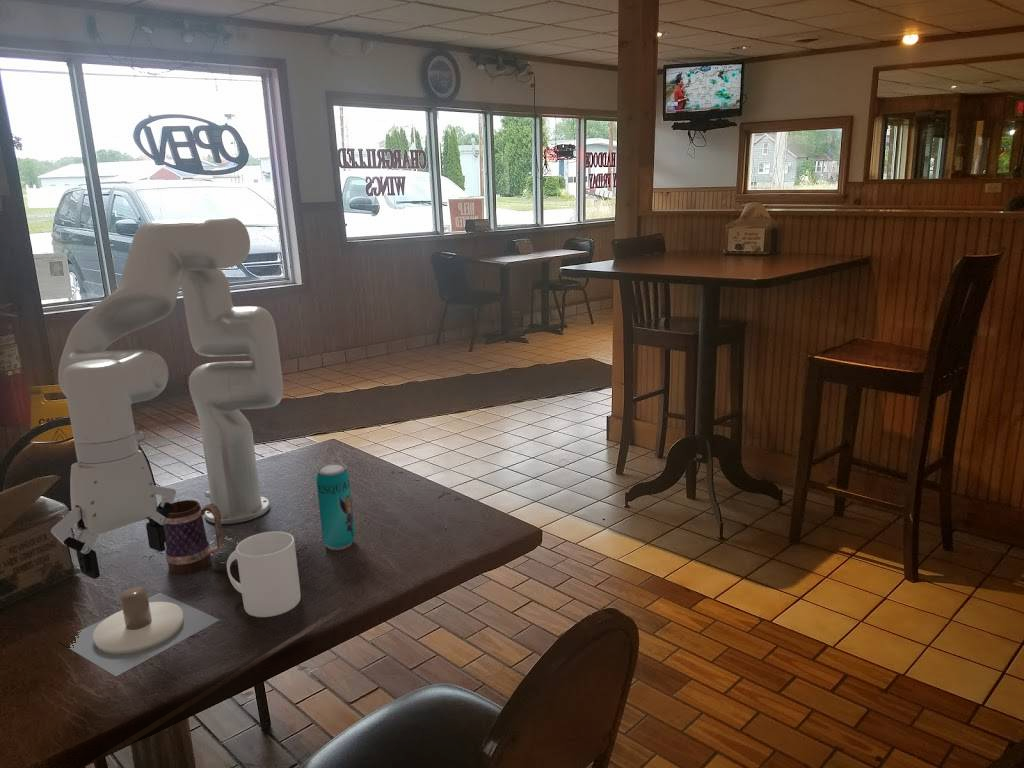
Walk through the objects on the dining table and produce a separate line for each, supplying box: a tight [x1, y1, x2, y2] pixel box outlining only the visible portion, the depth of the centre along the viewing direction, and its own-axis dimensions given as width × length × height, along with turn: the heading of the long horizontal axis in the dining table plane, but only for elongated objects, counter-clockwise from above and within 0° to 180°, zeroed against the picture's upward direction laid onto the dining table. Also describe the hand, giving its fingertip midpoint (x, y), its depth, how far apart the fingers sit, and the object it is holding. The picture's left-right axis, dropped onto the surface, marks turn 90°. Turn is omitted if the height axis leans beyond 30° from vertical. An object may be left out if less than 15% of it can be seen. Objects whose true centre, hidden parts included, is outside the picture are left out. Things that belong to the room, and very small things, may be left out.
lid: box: [93, 586, 184, 654], centre depth 110 cm, size 12×12×6 cm
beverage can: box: [315, 462, 355, 551], centre depth 135 cm, size 6×6×15 cm
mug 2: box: [226, 531, 302, 618], centre depth 116 cm, size 9×12×11 cm
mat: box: [68, 592, 221, 678], centre depth 111 cm, size 16×16×1 cm
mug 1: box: [164, 499, 225, 576], centre depth 129 cm, size 10×7×12 cm
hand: (125, 562), depth 107 cm, fingers open, 9 cm apart
